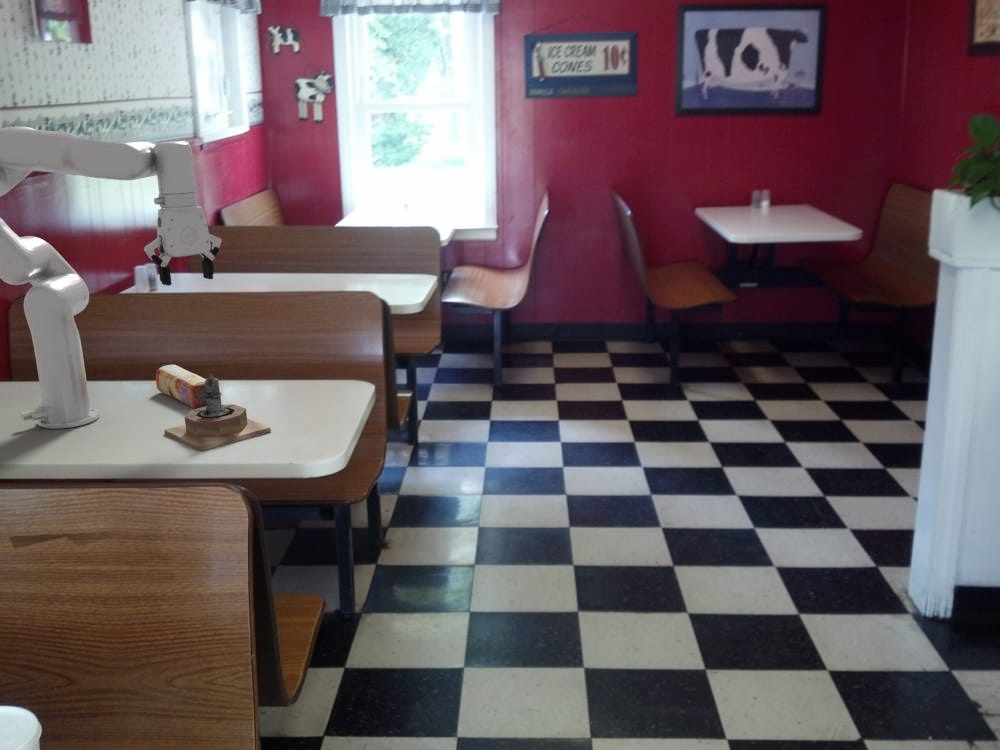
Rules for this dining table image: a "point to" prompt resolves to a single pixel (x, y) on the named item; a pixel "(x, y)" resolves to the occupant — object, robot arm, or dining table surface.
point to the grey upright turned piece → (213, 400)
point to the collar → (216, 428)
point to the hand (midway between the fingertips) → (187, 281)
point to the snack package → (182, 385)
